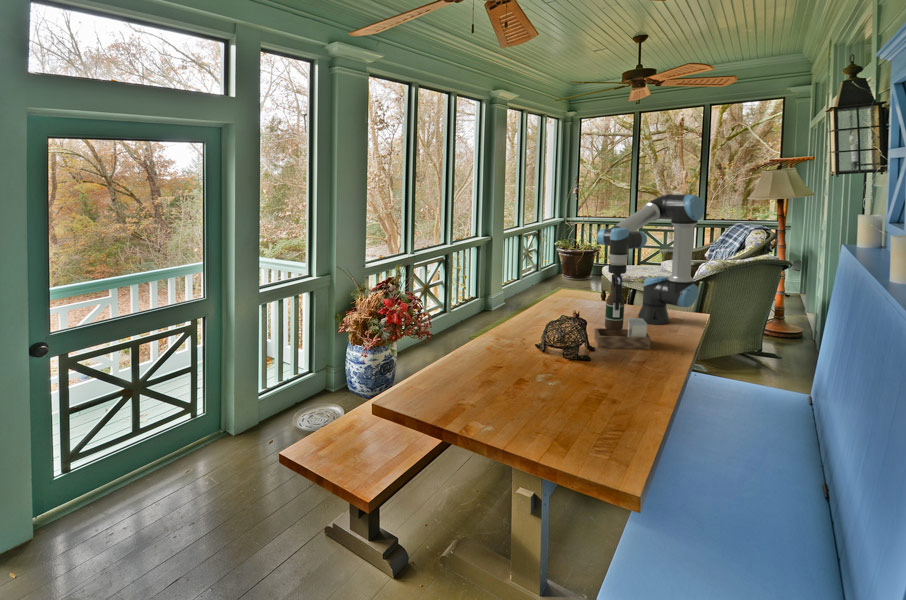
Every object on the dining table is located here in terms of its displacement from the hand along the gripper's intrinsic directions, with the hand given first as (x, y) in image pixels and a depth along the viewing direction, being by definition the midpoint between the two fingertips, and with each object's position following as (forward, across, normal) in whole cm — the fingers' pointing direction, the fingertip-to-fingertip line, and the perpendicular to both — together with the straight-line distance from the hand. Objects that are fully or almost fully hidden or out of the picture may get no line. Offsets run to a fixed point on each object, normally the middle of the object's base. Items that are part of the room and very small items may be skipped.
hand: (614, 314), depth 243 cm
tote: (+13, 0, +4) cm, 14 cm away
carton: (+12, 0, +10) cm, 16 cm away
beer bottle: (+6, 0, 0) cm, 6 cm away
